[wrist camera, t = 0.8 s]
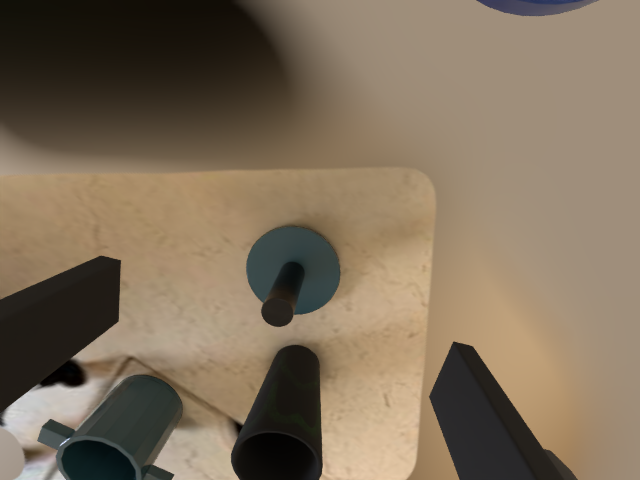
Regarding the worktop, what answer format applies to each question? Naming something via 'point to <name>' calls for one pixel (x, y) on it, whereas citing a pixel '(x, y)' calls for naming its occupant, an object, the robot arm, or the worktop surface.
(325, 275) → the lid
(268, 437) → the cup
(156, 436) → the pot
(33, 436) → the worktop surface
